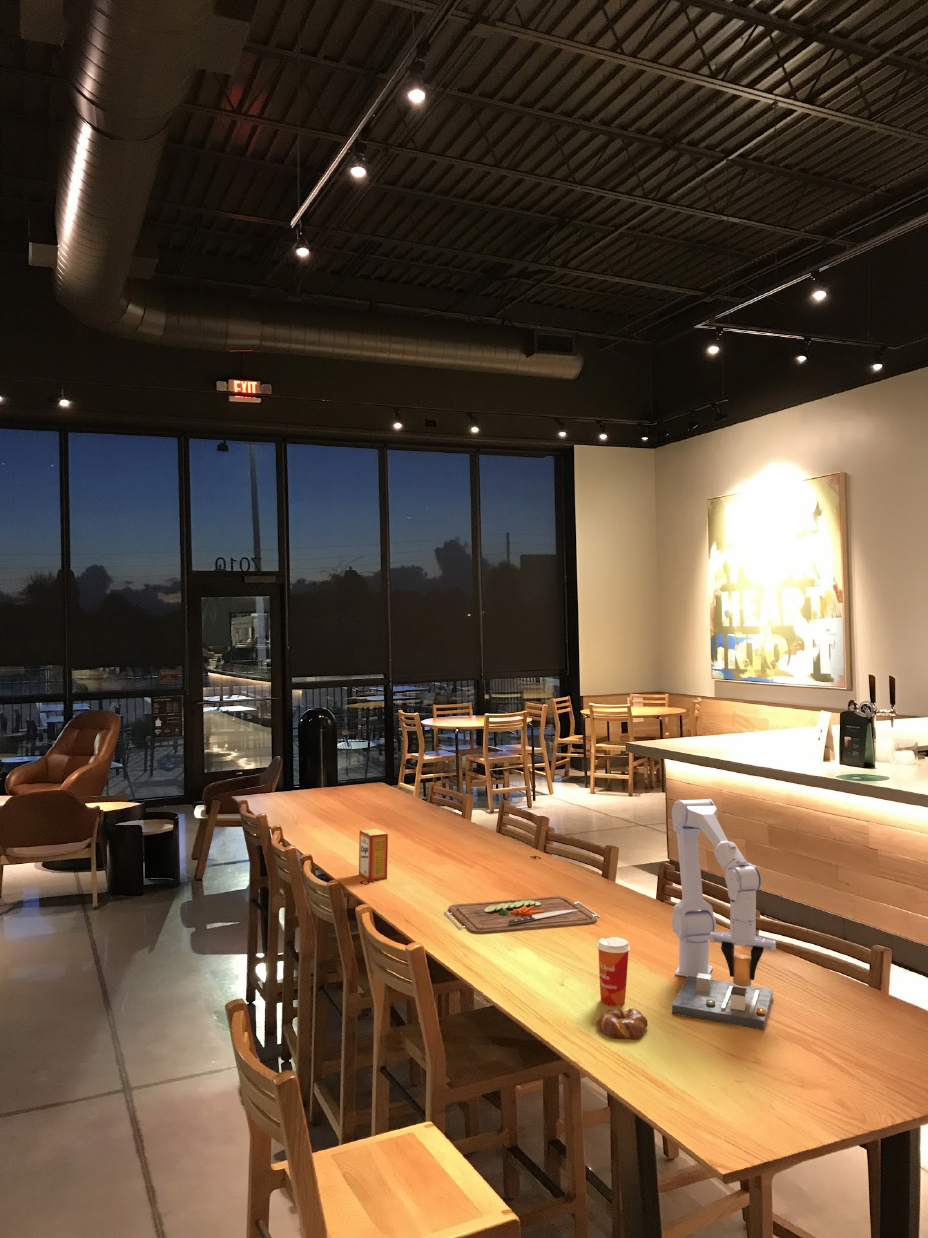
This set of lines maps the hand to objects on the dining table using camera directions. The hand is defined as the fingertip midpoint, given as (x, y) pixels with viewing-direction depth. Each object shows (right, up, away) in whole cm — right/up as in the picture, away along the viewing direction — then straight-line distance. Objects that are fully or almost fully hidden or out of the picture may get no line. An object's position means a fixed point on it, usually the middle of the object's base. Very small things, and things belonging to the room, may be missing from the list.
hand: (742, 977), depth 216 cm
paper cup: (-30, -7, +2) cm, 31 cm away
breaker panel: (-4, -7, +1) cm, 8 cm away
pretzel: (-30, -7, -13) cm, 33 cm away
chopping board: (-47, -8, +67) cm, 83 cm away
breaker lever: (-2, -5, -6) cm, 8 cm away
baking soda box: (-97, -7, +109) cm, 146 cm away
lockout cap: (0, -1, 0) cm, 1 cm away
